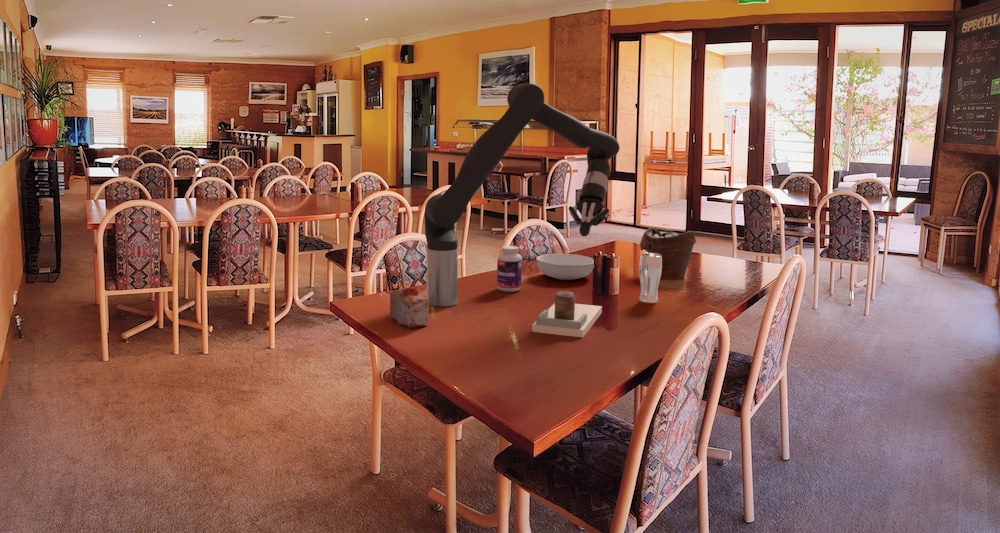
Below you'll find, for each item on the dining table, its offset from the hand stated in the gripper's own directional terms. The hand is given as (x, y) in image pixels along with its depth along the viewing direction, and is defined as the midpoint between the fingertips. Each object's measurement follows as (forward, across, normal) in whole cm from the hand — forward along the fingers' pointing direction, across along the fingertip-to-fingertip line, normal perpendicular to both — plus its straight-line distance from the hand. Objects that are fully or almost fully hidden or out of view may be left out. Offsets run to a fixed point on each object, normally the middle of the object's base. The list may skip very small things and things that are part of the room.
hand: (583, 234), depth 216 cm
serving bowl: (-12, -15, +44) cm, 48 cm away
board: (+27, 0, +5) cm, 27 cm away
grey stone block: (+40, -41, -7) cm, 58 cm away
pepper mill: (+31, +1, -1) cm, 31 cm away
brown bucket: (-24, +19, +57) cm, 65 cm away
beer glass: (+4, +18, +28) cm, 34 cm away
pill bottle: (+6, -27, +26) cm, 38 cm away
